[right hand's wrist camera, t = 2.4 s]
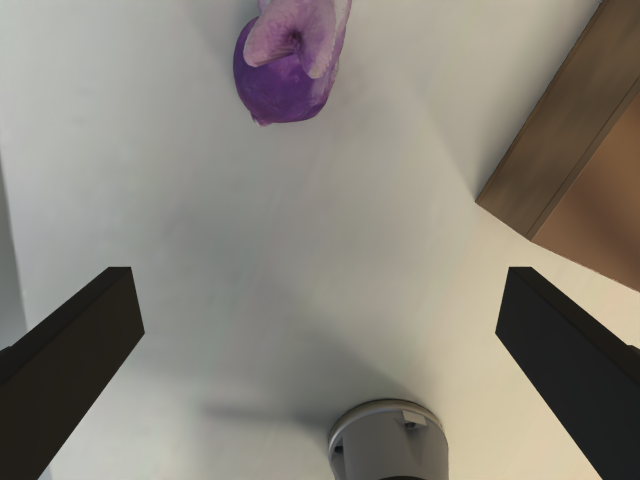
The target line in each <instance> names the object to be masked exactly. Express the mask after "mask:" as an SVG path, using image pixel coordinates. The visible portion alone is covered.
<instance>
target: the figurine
mask: <svg viewBox="0 0 640 480" xmlns="http://www.w3.org/2000/svg"><path fill="white" fill-rule="evenodd" d="M351 3H352V0H258V7H259V10H260V13H261V15H260V17H256V18H254V19H252V20H251V21H250V22H249V23H248V24H247V25H246V26H245V27H244V29H243V30H242V32H241V33H240V35H239V38H238V40H237V43H236V47H235V51H234V58H233V70H234V78H235V83H236V87H237V91H238V94H239V96H240V98H241V100H242V102H243V103H244V105H245V106H246V107H247V109H248V110H249V111H250V113H251V116H252V119H253V121H254V123H255V124H256V125H257V126H259V127H265V126H268V125H270V124H271V123H273V122H275V123H287V122H296V121H302V120H307V119H310V118H312V117H314V116H315V115H317V114H318V113H319V112H320V110H321V109H322V108H323V106H324V105H325V103H326V101H327V99H328V95H329V92H330V90H331V88H332V86H333V83H334V81H335V77H336V74H337V70H338V63H339V55H340V53H341V50H342V46H343V41H344V37H345V30H346V23H347V20H348V17H349V14H350V9H351Z"/></svg>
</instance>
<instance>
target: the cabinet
mask: <svg viewBox="0 0 640 480" xmlns="http://www.w3.org/2000/svg"><path fill="white" fill-rule="evenodd" d="M475 203H477V204H478V205H479V206H481V207H482V208H484V209H485V210H487V211H488V212H489V213H491V214H492V215H494V216H495V217H496V218H498V219H499V220H501V221H502V222H503V223H505V224H506V225H508V226H509V227H511V228H512V229H513V230H515V231H516V232H518V233H519V234H520V235H522V236H523V237H525V238H526V239H528V240H529V241H530V242H532V243H535V244H537V245H539V246H541V247H543V248H545V249H547V250H550V251H552V252H554V253H556V254H558V255H560V256H562V257H565V258H567V259H569V260H571V261H573V262H575V263H577V264H580V265H582V266H584V267H586V268H588V269H590V270H592V271H595V272H597V273H599V274H601V275H603V276H605V277H607V278H610V279H612V280H614V281H616V282H618V283H620V284H622V285H625V286H627V287H629V288H631V289H633V290H635V291H637V292H640V0H603V1H602V3H601V4H600V6H599V8H598V9H597V11H596V12H595V14H594V15H593V17H592V19H591V20H590V22H589V23H588V25H587V26H586V28H585V30H584V31H583V33H582V34H581V36H580V38H579V39H578V41H577V42H576V44H575V45H574V47H573V49H572V50H571V52H570V53H569V55H568V56H567V58H566V60H565V61H564V63H563V64H562V66H561V67H560V69H559V71H558V72H557V74H556V75H555V77H554V79H553V80H552V82H551V83H550V85H549V86H548V88H547V90H546V91H545V93H544V94H543V96H542V97H541V99H540V101H539V102H538V104H537V105H536V107H535V108H534V110H533V112H532V113H531V115H530V116H529V118H528V120H527V121H526V123H525V124H524V126H523V127H522V129H521V131H520V132H519V134H518V135H517V137H516V138H515V140H514V142H513V143H512V145H511V146H510V148H509V150H508V151H507V153H506V154H505V156H504V157H503V159H502V161H501V162H500V164H499V165H498V167H497V168H496V170H495V172H494V173H493V175H492V176H491V178H490V179H489V181H488V183H487V184H486V186H485V187H484V189H483V191H482V192H481V194H480V195H479V197H478V198H477V200H476V202H475Z"/></svg>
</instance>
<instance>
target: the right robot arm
mask: <svg viewBox="0 0 640 480" xmlns="http://www.w3.org/2000/svg"><path fill="white" fill-rule="evenodd" d="M144 334H145V331H144V326H143V322H142V317H141V312H140V308H139V303H138V298H137V293H136V289H135V284H134V279H133V274H132V270H131V267H108V268H107V269H105V270H104V271H103V272H102V273H101V274H99V275H98V276H97V277H96V278H94V279H93V280H92V281H91V282H90V283H88V284H87V285H86V286H85V287H83V288H82V289H81V290H80V291H79V292H77V293H76V294H75V295H74V296H72V297H71V298H70V299H69V300H67V301H66V302H65V303H64V304H63V305H61V306H60V307H59V308H58V309H56V310H55V311H54V312H53V313H52V314H50V315H49V316H48V317H47V318H45V319H44V320H43V321H42V322H41V323H39V324H38V325H37V326H36V327H34V328H33V329H32V330H31V331H29V332H28V333H27V334H26V335H25V336H23V337H22V338H21V339H20V340H19V341H17V342H16V343H15V344H14V345H12V346H8V347H6V348H5V349H3V350H1V351H0V480H38V478H39V477H40V475H41V474H42V473H43V471H44V470H45V469H46V467H47V466H48V465H49V463H50V462H51V460H52V459H53V458H54V456H55V455H56V454H57V452H58V451H59V450H60V448H61V447H62V445H63V444H64V443H65V441H66V440H67V439H68V437H69V436H70V435H71V433H72V432H73V430H74V429H75V428H76V426H77V425H78V424H79V422H80V421H81V420H82V418H83V417H84V416H85V414H86V413H87V411H88V410H89V409H90V407H91V406H92V405H93V403H94V402H95V401H96V399H97V398H98V396H99V395H100V394H101V392H102V391H103V390H104V388H105V387H106V386H107V384H108V383H109V381H110V380H111V379H112V377H113V376H114V375H115V373H116V372H117V371H118V369H119V368H120V366H121V365H122V364H123V362H124V361H125V360H126V358H127V357H128V356H129V354H130V353H131V351H132V350H133V349H134V347H135V346H136V345H137V343H138V342H139V341H140V339H141V338H142V336H143V335H144ZM495 334H496V335H497V336H498V338H499V339H500V341H501V342H502V343H503V345H504V346H505V347H506V349H507V350H508V351H509V353H510V354H511V356H512V357H513V358H514V360H515V361H516V362H517V364H518V365H519V366H520V368H521V369H522V371H523V372H524V373H525V375H526V376H527V377H528V379H529V380H530V381H531V383H532V384H533V386H534V387H535V388H536V390H537V391H538V392H539V394H540V395H541V396H542V398H543V399H544V401H545V402H546V403H547V405H548V406H549V407H550V409H551V410H552V411H553V413H554V414H555V416H556V417H557V418H558V420H559V421H560V422H561V424H562V425H563V426H564V428H565V429H566V430H567V432H568V433H569V435H570V436H571V437H572V439H573V440H574V441H575V443H576V444H577V445H578V447H579V448H580V450H581V451H582V452H583V454H584V455H585V456H586V458H587V459H588V460H589V462H590V463H591V465H592V466H593V467H594V469H595V470H596V471H597V473H598V474H599V475H600V477H601V478H602V480H640V349H638V348H636V347H635V346H633V345H626V344H625V343H624V342H623V341H622V340H620V339H619V338H618V337H617V336H615V335H614V334H613V333H612V332H611V331H609V330H608V329H607V328H606V327H604V326H603V325H602V324H601V323H599V322H598V321H597V320H596V319H595V318H593V317H592V316H591V315H590V314H588V313H587V312H586V311H585V310H584V309H582V308H581V307H580V306H579V305H577V304H576V303H575V302H574V301H573V300H571V299H570V298H569V297H568V296H566V295H565V294H564V293H563V292H561V291H560V290H559V289H558V288H557V287H555V286H554V285H553V284H552V283H550V282H549V281H548V280H547V279H546V278H544V277H543V276H542V275H541V274H539V273H538V272H537V271H536V270H535V269H533V268H532V267H509V270H508V274H507V279H506V284H505V289H504V293H503V298H502V303H501V308H500V312H499V317H498V322H497V326H496V331H495ZM328 448H329V463H330V467H331V469H332V472H333V474H334V477H335V480H449V477H448V443H447V440H446V437H445V434H444V432H443V429H442V427H441V424H440V423H439V421H438V420H437V419H436V417H435V416H434V415H433V414H432V413H430V412H429V411H428V410H426V409H425V408H423V407H421V406H419V405H416V404H413V403H410V402H406V401H400V400H380V401H374V402H370V403H366V404H363V405H361V406H358V407H356V408H354V409H352V410H351V411H349V412H347V413H346V414H345V415H344V416H342V417H341V418H340V419H339V420H338V421H337V423H336V424H335V425H334V427H333V429H332V431H331V433H330V436H329V442H328Z"/></svg>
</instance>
